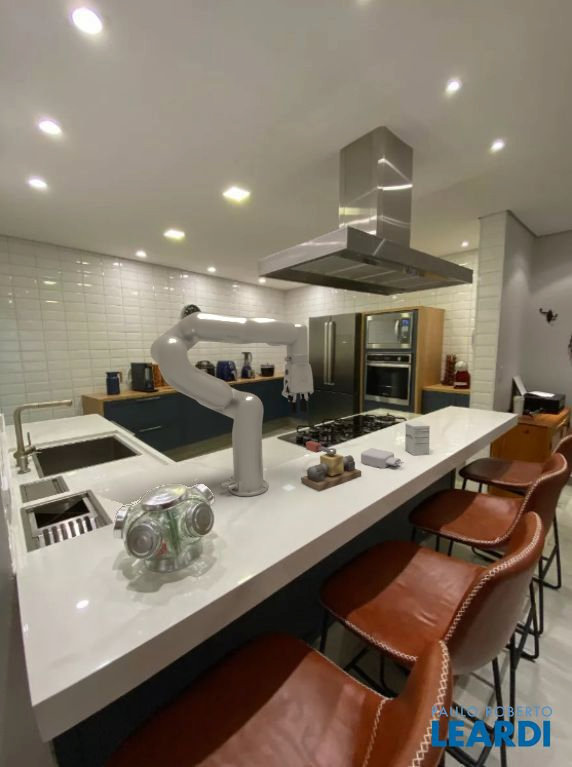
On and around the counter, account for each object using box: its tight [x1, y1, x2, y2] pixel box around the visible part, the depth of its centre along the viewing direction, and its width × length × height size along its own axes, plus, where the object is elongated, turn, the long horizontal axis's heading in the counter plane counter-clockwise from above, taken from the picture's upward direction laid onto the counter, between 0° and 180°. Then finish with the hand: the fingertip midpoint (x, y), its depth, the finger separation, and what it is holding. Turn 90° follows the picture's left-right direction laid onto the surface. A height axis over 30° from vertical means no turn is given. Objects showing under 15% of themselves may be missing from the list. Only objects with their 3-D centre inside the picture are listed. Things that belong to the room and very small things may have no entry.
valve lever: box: [305, 440, 337, 454], centre depth 116 cm, size 14×3×3 cm, turn 37°
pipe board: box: [300, 453, 362, 492], centre depth 112 cm, size 20×9×9 cm, turn 127°
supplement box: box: [404, 421, 431, 457], centre depth 140 cm, size 7×7×13 cm
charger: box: [360, 447, 405, 469], centre depth 126 cm, size 5×9×15 cm
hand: (298, 411), depth 115 cm, fingers open, 3 cm apart
